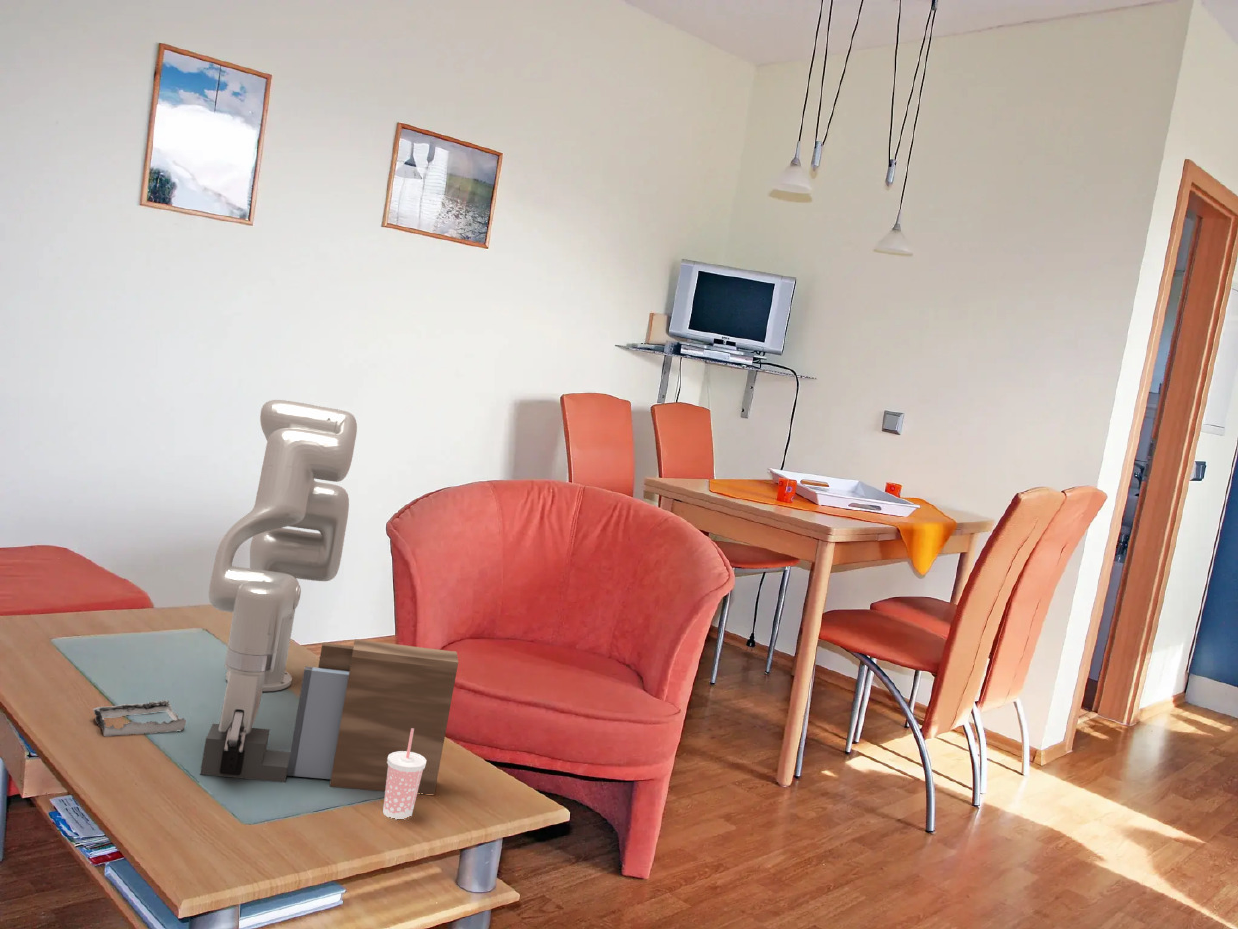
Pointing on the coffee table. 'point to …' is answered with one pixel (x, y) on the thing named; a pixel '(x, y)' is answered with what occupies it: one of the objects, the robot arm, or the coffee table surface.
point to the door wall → (390, 709)
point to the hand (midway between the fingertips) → (233, 763)
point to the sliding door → (317, 723)
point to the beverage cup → (402, 782)
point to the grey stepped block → (246, 756)
